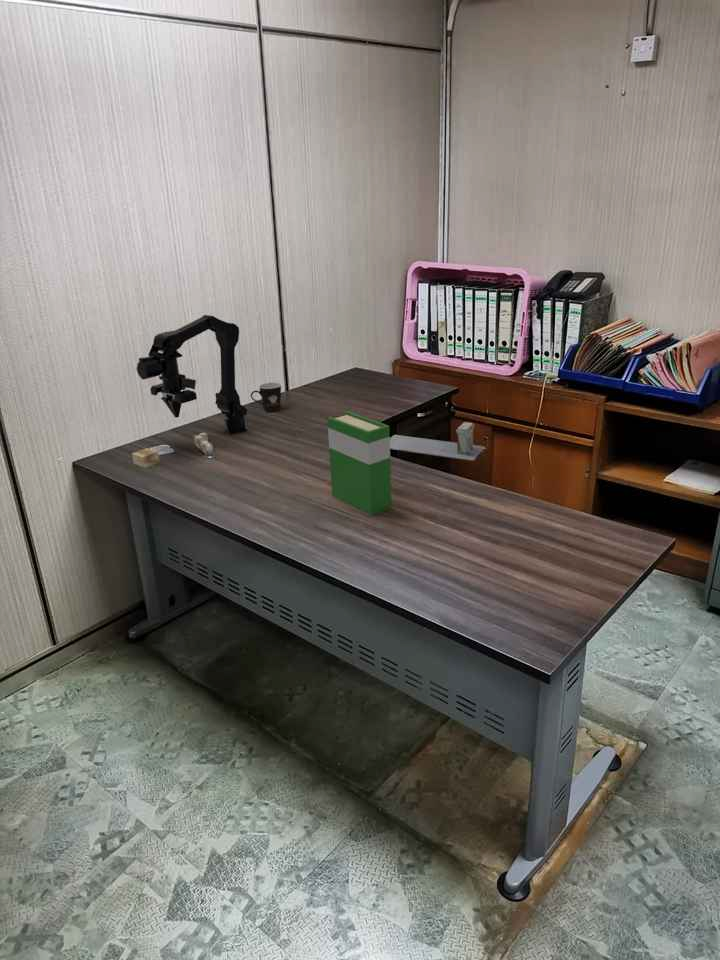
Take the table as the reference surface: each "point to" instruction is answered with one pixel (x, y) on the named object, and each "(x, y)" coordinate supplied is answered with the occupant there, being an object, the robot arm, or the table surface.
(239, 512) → the table surface
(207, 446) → the metal door knob
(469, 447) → the slab with upright peg
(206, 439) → the post
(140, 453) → the oak block
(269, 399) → the coffee mug
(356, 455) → the hardback book
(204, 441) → the gate rail
